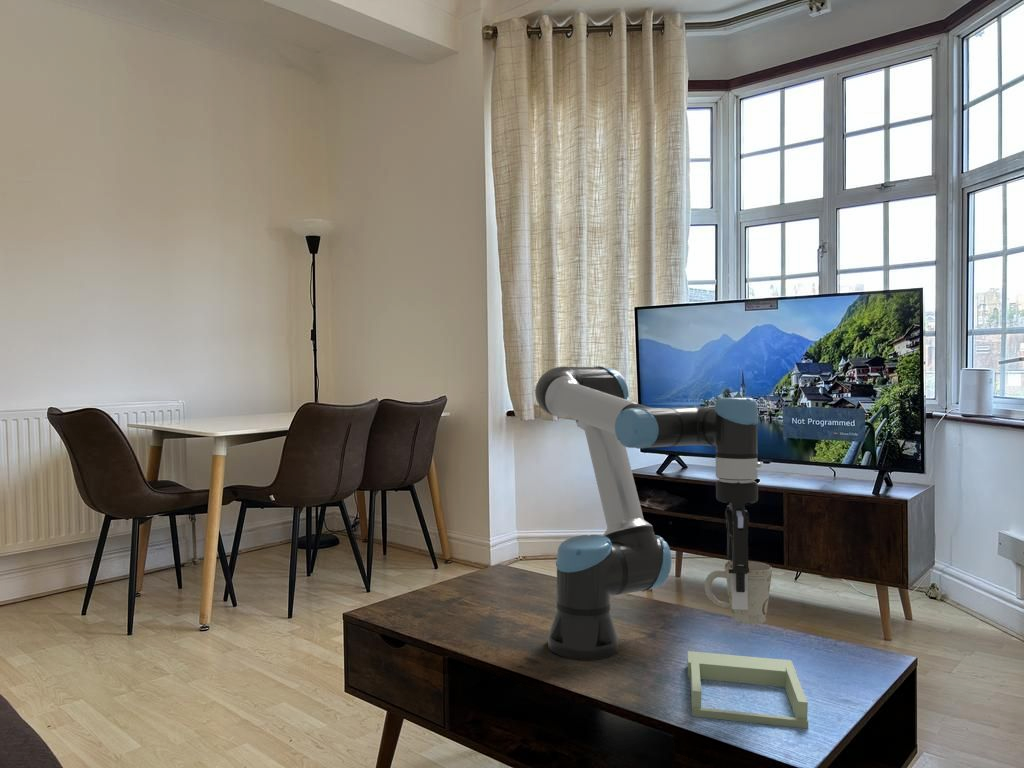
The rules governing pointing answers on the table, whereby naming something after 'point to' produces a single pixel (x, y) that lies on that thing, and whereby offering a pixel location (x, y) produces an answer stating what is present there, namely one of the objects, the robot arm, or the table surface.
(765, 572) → the mug
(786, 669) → the pale green rectangular frame
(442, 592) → the table surface
